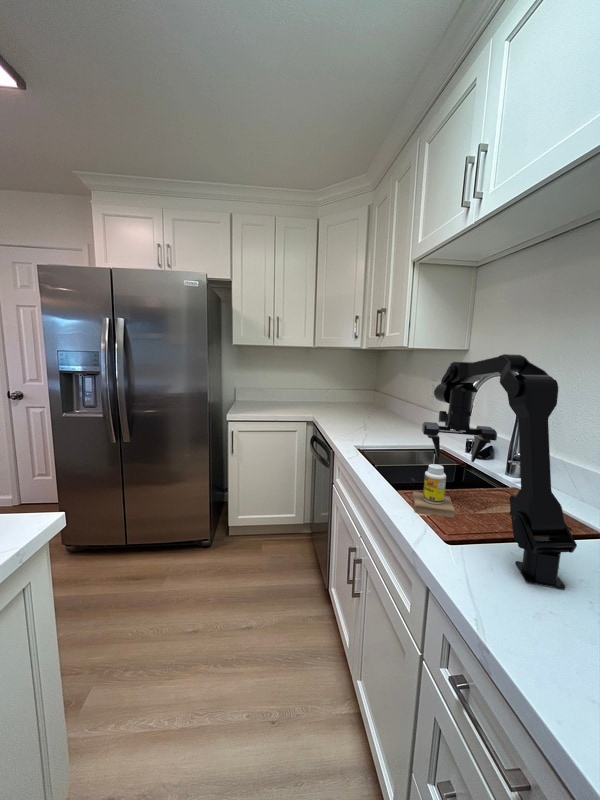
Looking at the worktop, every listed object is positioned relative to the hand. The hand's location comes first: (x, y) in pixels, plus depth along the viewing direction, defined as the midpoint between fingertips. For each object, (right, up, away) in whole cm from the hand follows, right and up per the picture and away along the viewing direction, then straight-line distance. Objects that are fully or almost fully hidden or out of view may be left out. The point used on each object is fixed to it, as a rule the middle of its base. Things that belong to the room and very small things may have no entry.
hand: (454, 459), depth 97 cm
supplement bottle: (-7, -12, -2) cm, 14 cm away
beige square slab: (-7, -13, -1) cm, 15 cm away
